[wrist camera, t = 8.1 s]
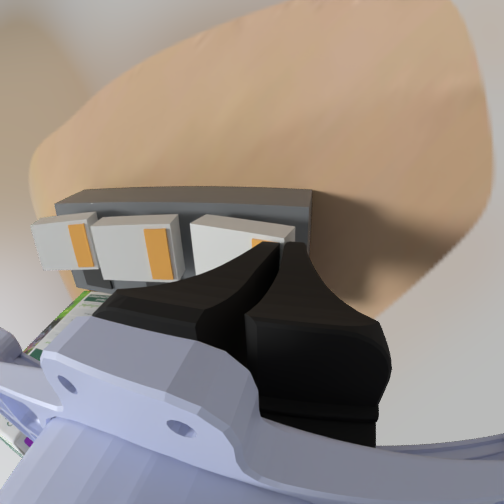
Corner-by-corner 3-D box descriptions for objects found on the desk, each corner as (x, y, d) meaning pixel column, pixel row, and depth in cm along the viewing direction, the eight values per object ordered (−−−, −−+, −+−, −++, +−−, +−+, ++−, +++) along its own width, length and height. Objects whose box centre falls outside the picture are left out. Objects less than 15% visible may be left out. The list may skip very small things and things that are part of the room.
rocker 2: (185, 269, 15) (178, 283, 13) (113, 267, 15) (102, 280, 14) (178, 213, 13) (169, 224, 12) (102, 217, 14) (89, 227, 12)
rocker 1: (106, 258, 16) (97, 270, 15) (52, 260, 16) (42, 271, 15) (96, 211, 15) (85, 220, 13) (41, 217, 14) (29, 226, 13)
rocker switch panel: (306, 289, 18) (300, 330, 15) (100, 266, 21) (70, 292, 18) (312, 189, 15) (308, 212, 12) (84, 189, 19) (46, 207, 15)
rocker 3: (293, 289, 13) (281, 306, 12) (211, 271, 14) (195, 284, 13) (295, 226, 12) (283, 239, 10) (206, 214, 13) (188, 224, 12)
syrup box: (136, 291, 21) (8, 442, 9) (160, 351, 24) (70, 494, 11) (85, 288, 23) (-31, 405, 10) (110, 343, 25) (20, 459, 13)
